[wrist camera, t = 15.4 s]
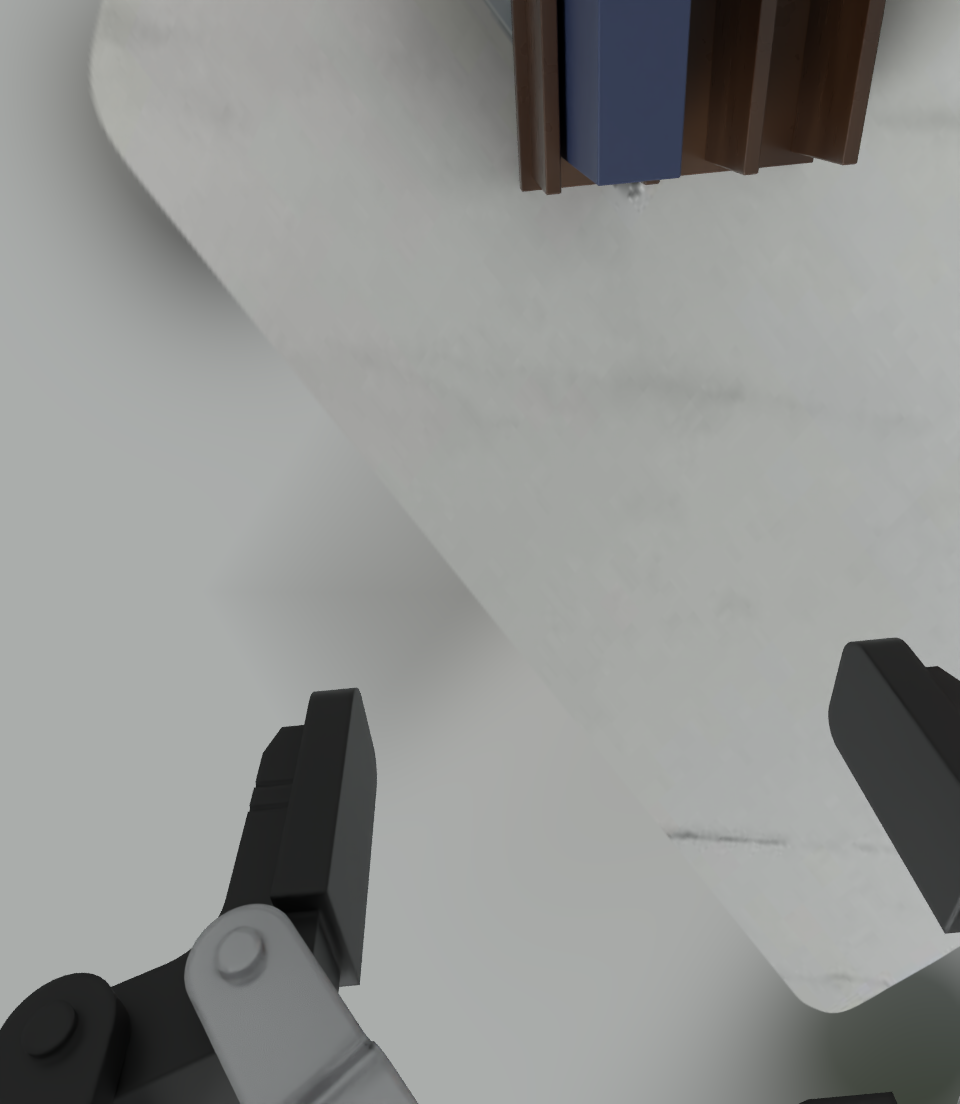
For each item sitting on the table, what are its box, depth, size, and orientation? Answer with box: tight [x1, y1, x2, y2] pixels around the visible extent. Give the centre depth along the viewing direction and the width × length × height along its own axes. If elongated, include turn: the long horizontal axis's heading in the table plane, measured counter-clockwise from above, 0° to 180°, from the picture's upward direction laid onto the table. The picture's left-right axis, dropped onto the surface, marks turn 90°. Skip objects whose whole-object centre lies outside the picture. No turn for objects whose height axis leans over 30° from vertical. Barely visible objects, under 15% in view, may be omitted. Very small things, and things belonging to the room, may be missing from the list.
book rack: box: [511, 0, 886, 195], centre depth 28 cm, size 13×12×6 cm
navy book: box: [557, 0, 691, 186], centre depth 25 cm, size 3×9×11 cm, turn 5°
